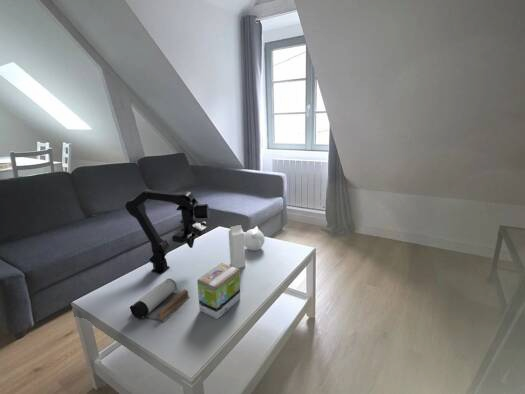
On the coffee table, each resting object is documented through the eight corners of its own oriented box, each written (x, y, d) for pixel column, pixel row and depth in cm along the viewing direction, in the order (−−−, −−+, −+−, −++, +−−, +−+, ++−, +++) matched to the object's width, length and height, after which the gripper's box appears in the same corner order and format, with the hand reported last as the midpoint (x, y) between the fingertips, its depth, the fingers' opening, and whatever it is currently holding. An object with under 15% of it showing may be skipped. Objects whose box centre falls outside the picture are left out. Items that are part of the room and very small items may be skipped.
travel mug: (168, 275, 124) (132, 302, 107) (179, 285, 123) (144, 315, 106) (163, 282, 127) (127, 310, 110) (173, 293, 126) (138, 323, 109)
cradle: (132, 311, 114) (131, 304, 113) (160, 289, 128) (159, 282, 127) (163, 322, 108) (162, 314, 107) (189, 297, 122) (188, 290, 121)
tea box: (218, 320, 108) (215, 287, 104) (199, 311, 113) (195, 279, 109) (241, 298, 120) (239, 268, 116) (223, 291, 126) (221, 261, 121)
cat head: (244, 243, 171) (244, 224, 167) (266, 243, 169) (265, 225, 165) (239, 255, 157) (238, 234, 153) (262, 256, 155) (262, 235, 151)
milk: (230, 264, 148) (227, 225, 141) (241, 261, 150) (239, 222, 144) (234, 269, 142) (232, 229, 136) (245, 266, 145) (243, 226, 138)
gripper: (189, 227, 123) (193, 259, 128) (213, 213, 140) (215, 242, 144) (169, 224, 128) (173, 255, 132) (194, 211, 144) (197, 238, 149)
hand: (191, 247), depth 139 cm, fingers closed
